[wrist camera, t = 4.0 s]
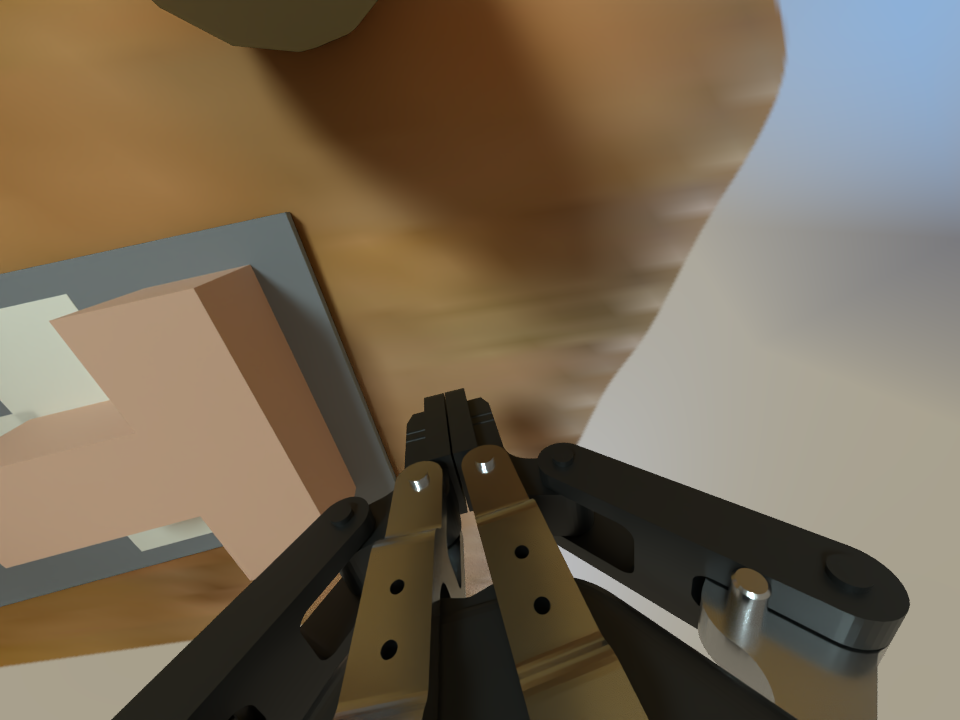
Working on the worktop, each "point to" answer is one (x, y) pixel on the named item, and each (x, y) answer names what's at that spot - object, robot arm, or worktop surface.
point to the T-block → (175, 430)
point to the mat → (68, 385)
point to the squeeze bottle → (272, 20)
